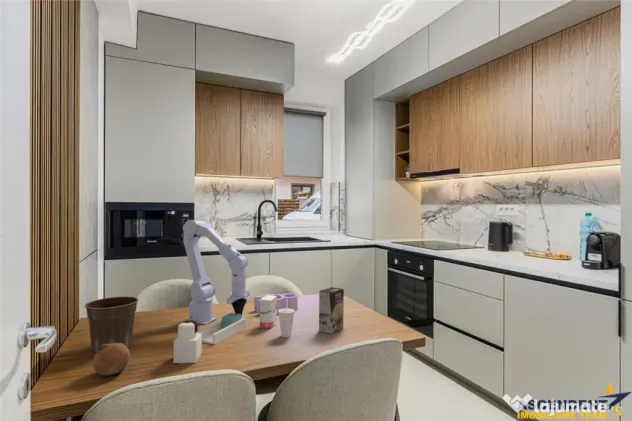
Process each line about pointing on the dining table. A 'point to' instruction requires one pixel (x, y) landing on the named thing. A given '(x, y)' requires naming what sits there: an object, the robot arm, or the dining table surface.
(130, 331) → the plant pot
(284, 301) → the purple cup holder
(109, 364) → the brown rounded lump
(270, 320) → the ink box
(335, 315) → the coffee box
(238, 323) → the chute
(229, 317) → the block
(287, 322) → the smoothie
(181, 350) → the medicine bottle
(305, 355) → the dining table surface
